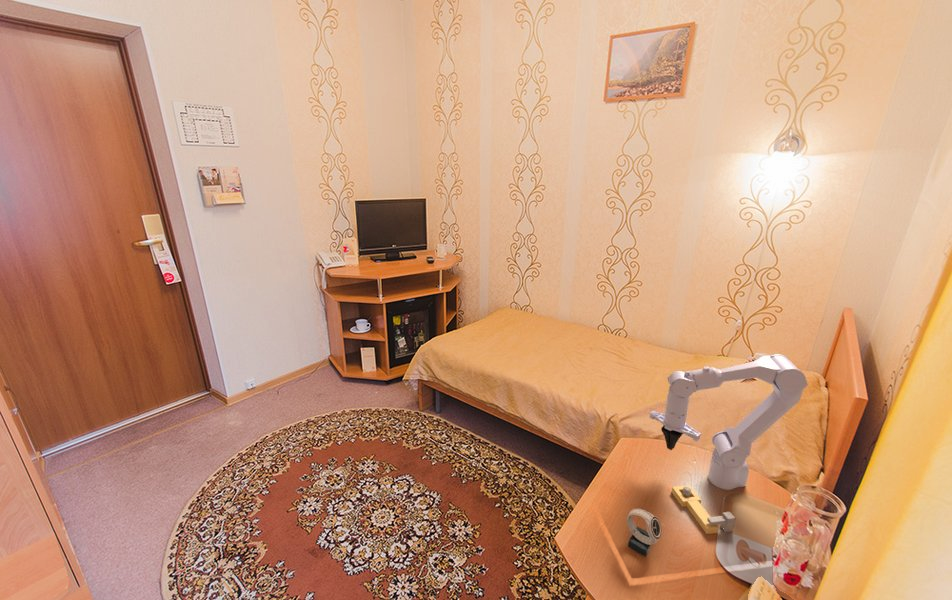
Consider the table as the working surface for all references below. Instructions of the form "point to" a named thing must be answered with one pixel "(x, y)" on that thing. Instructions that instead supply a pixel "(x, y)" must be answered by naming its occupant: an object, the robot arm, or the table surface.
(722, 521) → the pintle board
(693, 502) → the link
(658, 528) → the watch
